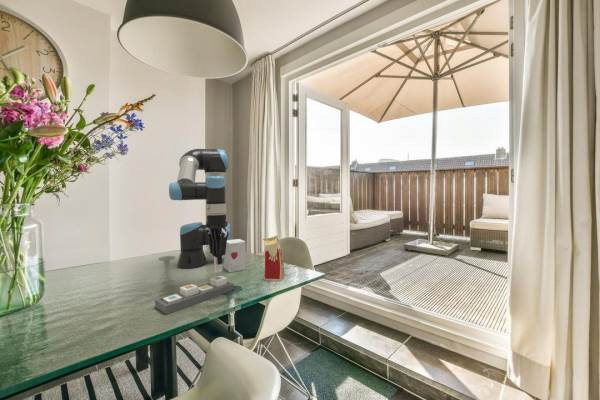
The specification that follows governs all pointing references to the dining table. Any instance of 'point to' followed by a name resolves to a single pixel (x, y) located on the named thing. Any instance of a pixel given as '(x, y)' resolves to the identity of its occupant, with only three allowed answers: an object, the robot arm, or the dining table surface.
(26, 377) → the dining table surface
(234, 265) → the supplement box
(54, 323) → the dining table surface
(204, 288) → the key ochre
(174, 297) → the key teal
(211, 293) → the keypad
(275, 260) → the milk carton
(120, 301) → the dining table surface
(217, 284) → the key slate
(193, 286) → the key rust
